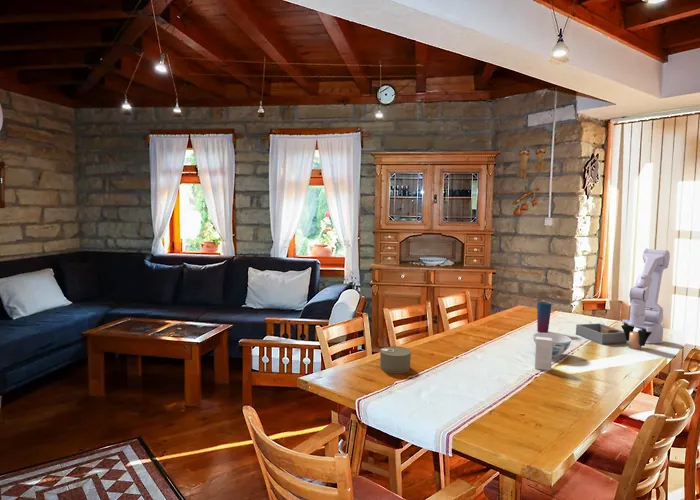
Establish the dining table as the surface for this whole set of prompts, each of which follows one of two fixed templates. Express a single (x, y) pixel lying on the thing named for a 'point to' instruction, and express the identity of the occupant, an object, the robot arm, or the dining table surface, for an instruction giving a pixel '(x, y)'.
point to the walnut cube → (608, 330)
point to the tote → (600, 334)
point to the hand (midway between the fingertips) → (635, 343)
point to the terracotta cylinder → (634, 341)
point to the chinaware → (556, 342)
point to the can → (395, 359)
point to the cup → (543, 316)
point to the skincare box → (543, 353)
